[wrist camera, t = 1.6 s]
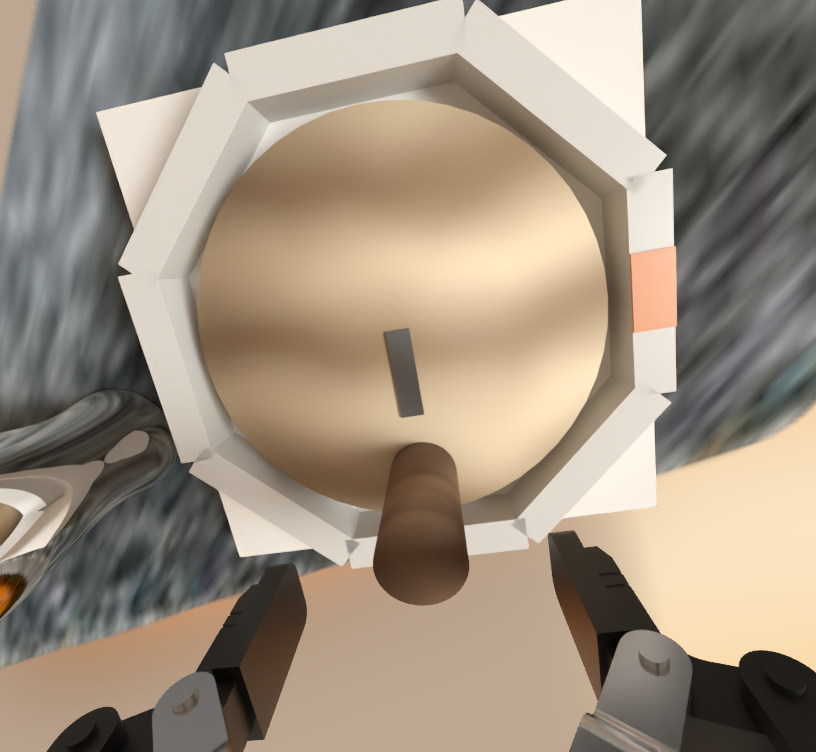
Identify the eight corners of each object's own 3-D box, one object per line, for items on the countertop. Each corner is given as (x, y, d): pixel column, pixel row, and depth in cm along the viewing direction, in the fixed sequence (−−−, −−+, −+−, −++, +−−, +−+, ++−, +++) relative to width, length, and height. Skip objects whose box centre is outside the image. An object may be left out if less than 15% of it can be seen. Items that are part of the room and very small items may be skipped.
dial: (165, 162, 17) (-29, 83, 10) (578, 70, 15) (710, -104, 8) (269, 515, 21) (186, 642, 14) (604, 471, 20) (707, 589, 12)
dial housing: (130, 128, 19) (45, 88, 15) (616, 15, 17) (677, -69, 13) (255, 534, 24) (218, 589, 20) (636, 486, 22) (684, 536, 18)
